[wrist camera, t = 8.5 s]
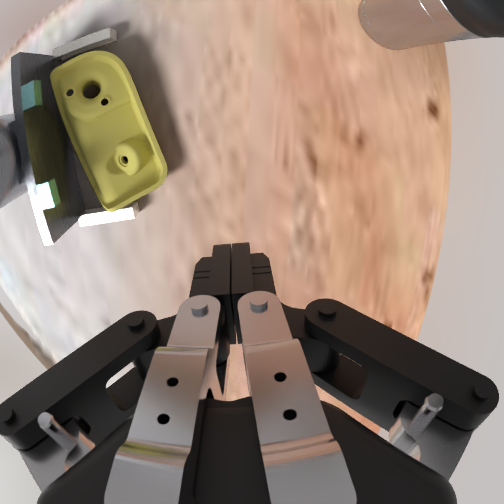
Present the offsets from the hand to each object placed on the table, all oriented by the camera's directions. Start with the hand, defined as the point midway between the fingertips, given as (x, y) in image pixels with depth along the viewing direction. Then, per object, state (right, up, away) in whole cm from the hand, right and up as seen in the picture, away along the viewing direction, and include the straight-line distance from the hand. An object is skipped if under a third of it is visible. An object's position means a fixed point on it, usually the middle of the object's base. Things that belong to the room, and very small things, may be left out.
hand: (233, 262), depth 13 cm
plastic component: (-17, +17, +21) cm, 32 cm away
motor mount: (-27, +16, +20) cm, 37 cm away
